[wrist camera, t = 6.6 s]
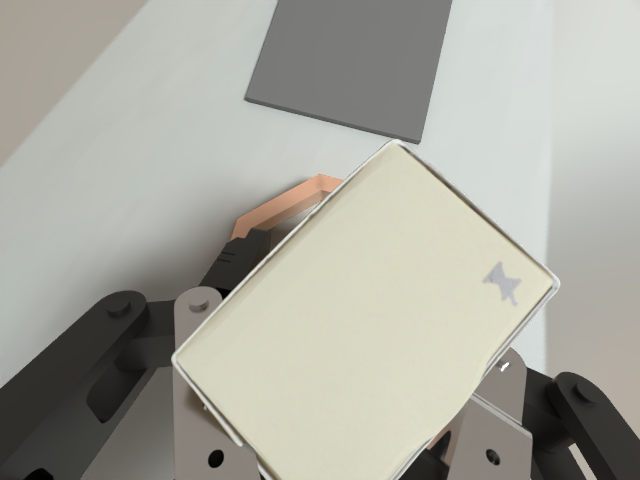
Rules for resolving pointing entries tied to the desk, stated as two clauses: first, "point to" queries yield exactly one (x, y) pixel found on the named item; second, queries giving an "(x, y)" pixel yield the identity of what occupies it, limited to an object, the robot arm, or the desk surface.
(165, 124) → the desk surface
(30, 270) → the desk surface
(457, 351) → the skincare box
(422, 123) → the mat
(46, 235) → the desk surface
